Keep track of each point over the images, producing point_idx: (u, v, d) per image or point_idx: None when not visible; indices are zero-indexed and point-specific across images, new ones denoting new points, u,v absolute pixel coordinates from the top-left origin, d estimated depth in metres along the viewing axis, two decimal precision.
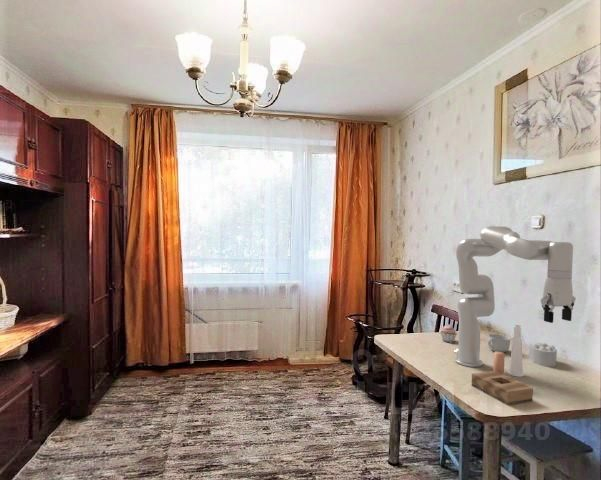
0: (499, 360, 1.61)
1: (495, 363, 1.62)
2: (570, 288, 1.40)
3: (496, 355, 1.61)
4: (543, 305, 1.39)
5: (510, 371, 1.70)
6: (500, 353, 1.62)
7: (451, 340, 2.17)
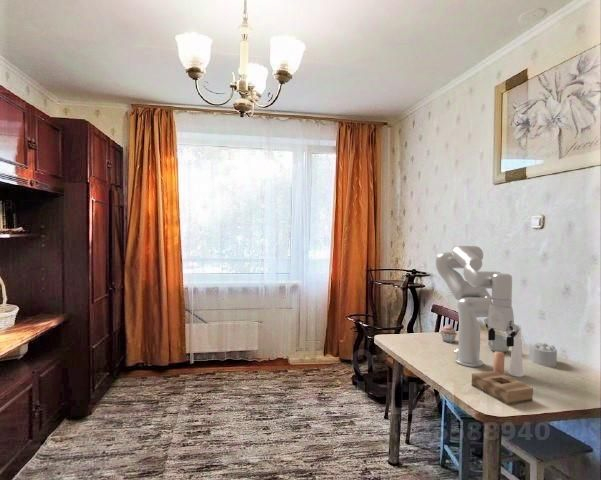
0: (499, 360, 1.61)
1: (495, 363, 1.62)
2: None
3: (496, 355, 1.61)
4: (516, 332, 1.54)
5: (510, 371, 1.70)
6: (500, 353, 1.62)
7: (451, 340, 2.17)
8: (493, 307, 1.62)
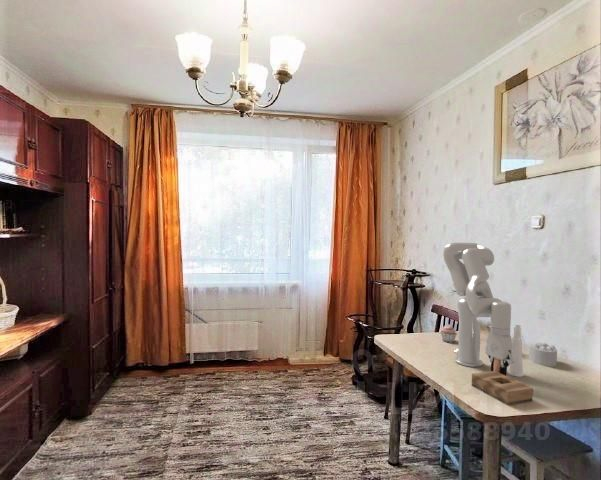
0: (499, 360, 1.61)
1: (495, 363, 1.62)
2: None
3: None
4: None
5: (510, 371, 1.70)
6: None
7: (451, 340, 2.17)
8: (492, 335, 1.63)
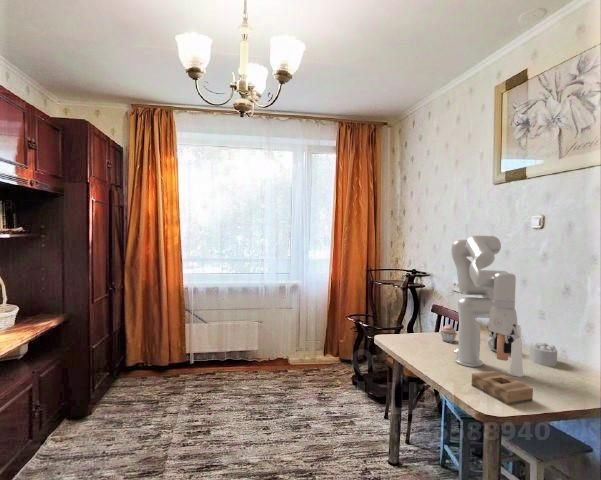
0: (503, 336, 1.48)
1: (499, 339, 1.49)
2: None
3: None
4: None
5: (510, 371, 1.70)
6: None
7: (451, 340, 2.17)
8: (495, 309, 1.50)
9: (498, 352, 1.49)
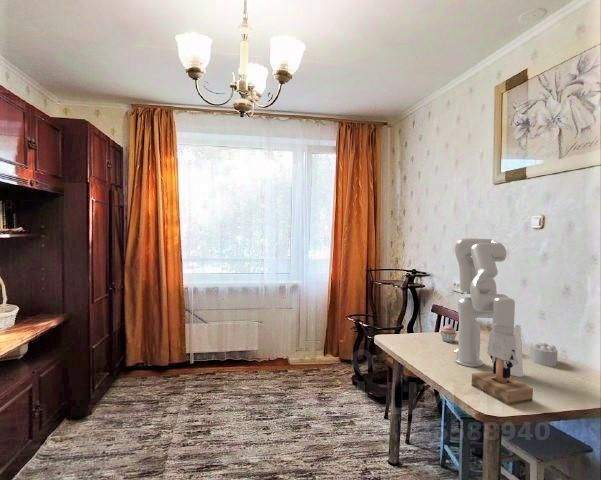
0: (502, 361, 1.48)
1: (498, 364, 1.49)
2: None
3: None
4: None
5: (510, 371, 1.70)
6: None
7: (451, 340, 2.17)
8: (494, 334, 1.50)
9: (497, 377, 1.49)
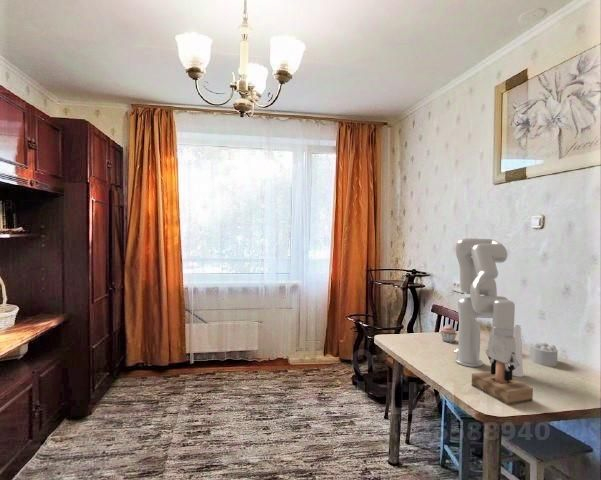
0: (501, 368, 1.48)
1: (497, 371, 1.49)
2: None
3: (498, 362, 1.49)
4: (515, 366, 1.44)
5: None
6: None
7: (451, 340, 2.17)
8: (494, 336, 1.50)
9: None
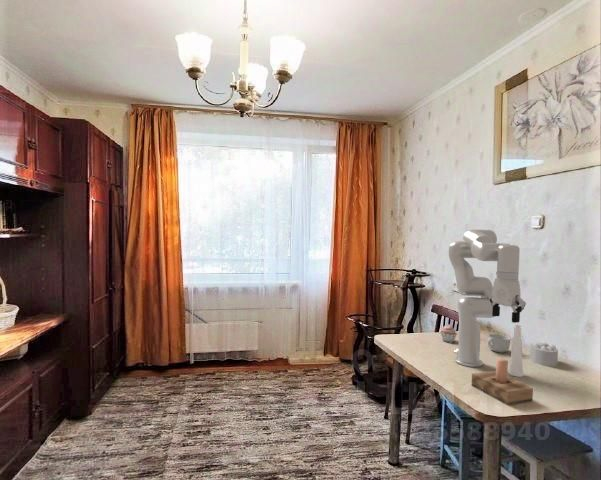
0: (501, 368, 1.48)
1: (497, 371, 1.49)
2: None
3: (498, 363, 1.49)
4: (522, 307, 1.43)
5: (510, 371, 1.70)
6: (503, 360, 1.49)
7: (451, 340, 2.17)
8: (498, 281, 1.51)
9: None
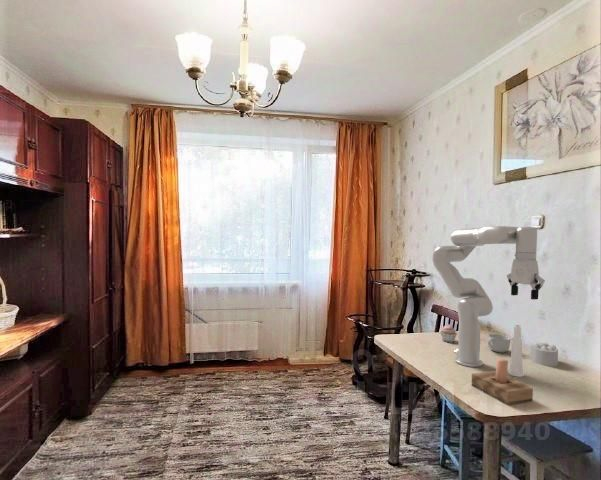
0: (501, 368, 1.48)
1: (497, 371, 1.49)
2: None
3: (498, 363, 1.49)
4: (541, 285, 1.53)
5: (510, 371, 1.70)
6: (503, 360, 1.49)
7: (451, 340, 2.17)
8: (517, 261, 1.60)
9: None
